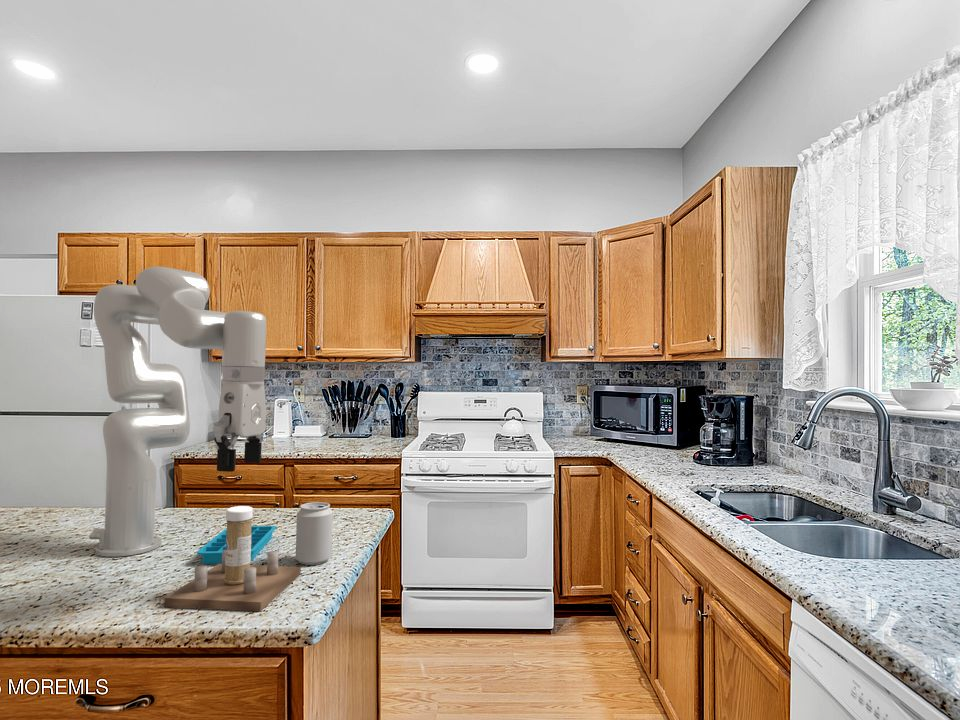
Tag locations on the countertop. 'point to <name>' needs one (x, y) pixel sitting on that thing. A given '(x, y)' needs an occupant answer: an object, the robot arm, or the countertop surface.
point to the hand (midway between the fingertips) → (239, 466)
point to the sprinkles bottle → (238, 543)
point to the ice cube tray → (218, 544)
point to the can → (314, 533)
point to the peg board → (234, 587)
